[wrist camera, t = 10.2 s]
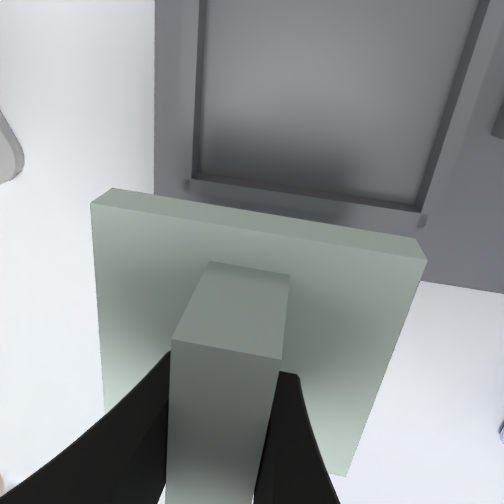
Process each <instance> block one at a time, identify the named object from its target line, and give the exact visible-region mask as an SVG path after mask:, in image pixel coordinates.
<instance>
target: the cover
mask: <svg viewBox="0 0 504 504" xmlns="http://www.w3.org/2000/svg"><path fill="white" fill-rule="evenodd" d="M90 210H91V224H92V238H93V252H94V266H95V280H96V294H97V308H98V322H99V336H100V351H101V365H102V379H103V393H104V407H105V415H106V414H107V413H108V412H109V411H110V410H111V409H112V408H113V407H114V406H115V405H116V404H117V403H118V402H119V401H120V400H121V399H122V398H123V397H125V396H126V395H127V394H128V393H129V392H130V391H131V390H132V389H133V388H134V387H135V386H136V385H137V384H138V383H139V382H140V381H141V380H142V379H143V378H144V377H145V376H146V375H147V373H148V372H149V371H150V370H151V369H152V368H153V367H154V366H155V365H156V364H157V363H158V362H159V360H160V359H161V358H162V357H163V356H164V355H165V354H166V353H167V352H168V351H170V350H171V360H170V387H169V414H168V441H167V468H166V495H165V504H251V503H252V498H253V493H254V489H255V484H256V479H257V474H258V470H259V465H260V460H261V455H262V451H263V446H264V441H265V436H266V432H267V427H268V422H269V417H270V413H271V408H272V403H273V398H274V393H275V389H276V384H277V379H278V374H279V371H283V372H289V373H294V374H297V375H298V376H299V378H300V381H301V387H302V392H303V397H304V401H305V405H306V409H307V412H308V416H309V420H310V423H311V426H312V429H313V433H314V436H315V439H316V441H317V444H318V447H319V450H320V453H321V456H322V459H323V462H324V464H325V467H326V470H327V472H328V473H329V474H334V475H339V476H344V477H346V475H347V472H348V469H349V467H350V464H351V461H352V459H353V456H354V454H355V451H356V448H357V446H358V443H359V440H360V438H361V435H362V432H363V430H364V427H365V425H366V422H367V419H368V417H369V414H370V411H371V409H372V406H373V403H374V401H375V398H376V396H377V393H378V390H379V388H380V385H381V382H382V380H383V377H384V374H385V372H386V369H387V367H388V364H389V361H390V359H391V356H392V353H393V351H394V348H395V345H396V343H397V340H398V337H399V335H400V332H401V330H402V327H403V324H404V322H405V319H406V316H407V314H408V311H409V308H410V306H411V303H412V301H413V298H414V295H415V293H416V290H417V287H418V285H419V282H420V279H421V277H422V274H423V272H424V269H425V266H426V264H427V261H428V260H427V258H426V256H425V255H424V253H423V251H422V249H421V247H420V246H419V244H418V242H417V240H416V239H415V238H410V237H404V236H398V235H392V234H386V233H380V232H374V231H368V230H362V229H356V228H350V227H344V226H338V225H332V224H326V223H320V222H314V221H308V220H302V219H296V218H290V217H284V216H278V215H272V214H266V213H260V212H254V211H248V210H242V209H236V208H230V207H224V206H218V205H212V204H206V203H200V202H194V201H188V200H182V199H176V198H170V197H164V196H158V195H152V194H146V193H140V192H134V191H128V190H122V189H116V188H111V189H110V190H108V191H107V192H106V193H104V194H103V195H101V196H100V197H98V198H97V199H95V200H94V201H92V202H91V203H90Z"/></svg>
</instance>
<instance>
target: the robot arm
mask: <svg viewBox="0 0 504 504" xmlns="http://www.w3.org/2000/svg"><path fill="white" fill-rule="evenodd" d="M170 360H171V350H170V351H168V352H167V353H166V354H165V355H164V356H163V357H162V358H161V359H160V360H159V362H158V363H157V364H156V365H155V366H154V367H153V368H152V369H151V370H150V371H149V372H148V373H147V375H146V376H145V377H144V378H143V379H142V380H141V381H140V382H139V383H138V384H137V385H136V386H135V387H134V388H133V389H132V390H131V391H130V392H129V393H128V394H127V395H126V396H125V397H123V398H122V399H121V400H120V401H119V402H118V403H117V404H116V405H115V406H114V407H113V408H112V409H111V410H110V411H109V412H108V413H107V414H106V415H104V416H103V417H102V418H101V419H100V420H99V421H98V422H96V423H95V424H94V425H93V426H92V427H91V428H90V429H88V430H87V431H86V432H85V433H84V434H83V435H81V436H80V437H79V438H78V439H77V440H76V441H74V442H73V443H72V444H71V445H70V446H68V447H67V448H66V449H65V450H63V451H62V452H61V453H60V454H58V455H57V456H56V457H55V458H53V459H52V460H51V461H50V462H48V463H47V464H46V465H44V466H43V467H42V468H40V469H39V470H38V471H36V472H35V473H34V474H32V475H31V476H30V477H28V478H27V479H26V480H24V481H23V482H21V483H20V484H18V485H17V486H16V487H14V488H13V489H11V490H10V491H8V492H7V493H6V494H4V495H3V496H1V497H0V504H157V503H158V501H159V498H160V496H161V493H162V491H163V488H164V486H165V484H166V468H167V441H168V414H169V387H170ZM500 439H501V441H502V443H504V428H503V429H502V431H501V433H500ZM253 504H340V502H339V499H338V497H337V494H336V492H335V490H334V487H333V485H332V482H331V480H330V477H329V475H328V472H327V470H326V467H325V464H324V462H323V459H322V456H321V453H320V450H319V447H318V444H317V441H316V439H315V436H314V433H313V429H312V426H311V423H310V420H309V416H308V412H307V409H306V405H305V401H304V397H303V392H302V387H301V381H300V378H299V376H298V375H297V374H294V373H289V372H283V371H279V374H278V379H277V384H276V389H275V393H274V398H273V403H272V408H271V413H270V417H269V422H268V427H267V432H266V436H265V441H264V446H263V451H262V455H261V460H260V465H259V470H258V474H257V479H256V484H255V489H254V501H253Z"/></svg>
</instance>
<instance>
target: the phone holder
mask: <svg viewBox="0 0 504 504" xmlns="http://www.w3.org/2000/svg"><path fill="white" fill-rule="evenodd" d="M23 167H24V154H23V151H22V148H21V146H20V144H19V142H18V140H17V139H16V137H15V135H14V133H13V132H12V130H11V128H10V127H9V125H8V123H7V121H6V120H5V118H4V116H3V115H2V113H1V111H0V184H2V183H5V182H7V181H10V180H12V179H13V178H14V177H15V176H16V175H17V173H18V172H21V171H22V170H23Z"/></svg>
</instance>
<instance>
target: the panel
mask: <svg viewBox="0 0 504 504" xmlns="http://www.w3.org/2000/svg"><path fill="white" fill-rule="evenodd" d="M154 195H158V196H164V197H170V198H176V199H182V200H188V201H194V202H200V203H206V204H212V205H218V206H224V207H230V208H236V209H242V210H248V211H254V212H260V213H266V214H272V215H278V216H284V217H290V218H296V219H302V220H308V221H314V222H320V223H326V224H332V225H338V226H344V227H350V228H356V229H362V230H368V231H374V232H380V233H386V234H392V235H398V236H404V237H410V238H415V239H416V240H417V242H418V244H419V246H420V247H421V249H422V251H423V253H424V255H425V256H426V258H427V260H428V261H427V264H426V266H425V269H424V272H423V274H422V277H421V279H420V280H421V281H427V282H433V283H439V284H446V285H452V286H458V287H464V288H471V289H477V290H483V291H489V292H496V293H502V294H504V0H155V126H154Z"/></svg>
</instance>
